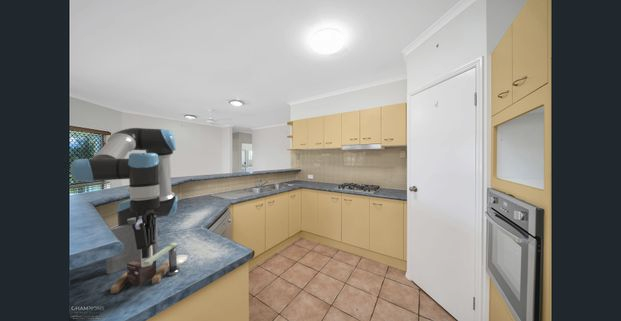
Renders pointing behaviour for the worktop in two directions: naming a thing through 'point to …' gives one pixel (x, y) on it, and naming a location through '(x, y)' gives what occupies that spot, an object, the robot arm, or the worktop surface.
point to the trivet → (180, 260)
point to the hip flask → (127, 247)
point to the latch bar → (160, 253)
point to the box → (140, 272)
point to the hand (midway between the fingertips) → (147, 265)
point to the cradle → (124, 280)
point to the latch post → (172, 263)
